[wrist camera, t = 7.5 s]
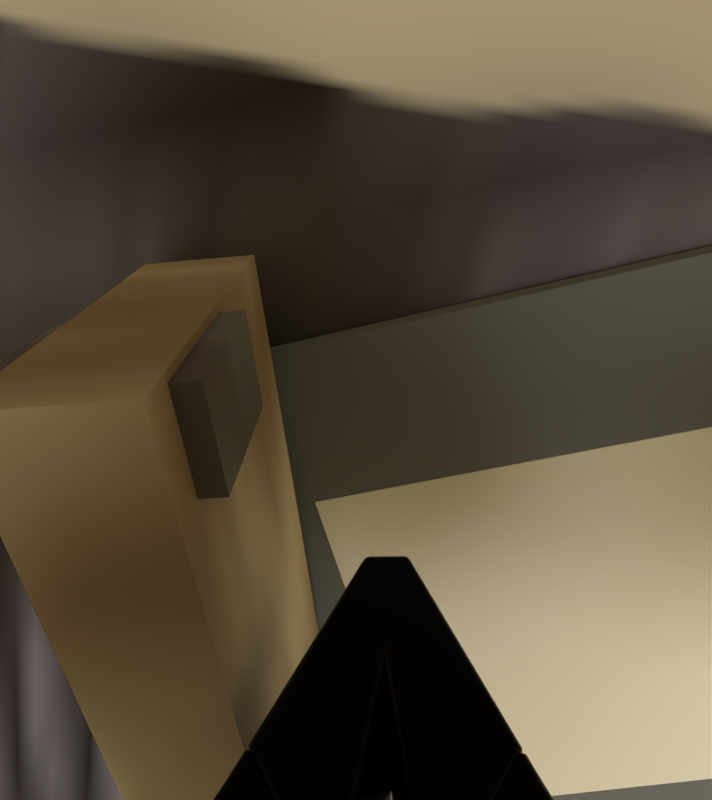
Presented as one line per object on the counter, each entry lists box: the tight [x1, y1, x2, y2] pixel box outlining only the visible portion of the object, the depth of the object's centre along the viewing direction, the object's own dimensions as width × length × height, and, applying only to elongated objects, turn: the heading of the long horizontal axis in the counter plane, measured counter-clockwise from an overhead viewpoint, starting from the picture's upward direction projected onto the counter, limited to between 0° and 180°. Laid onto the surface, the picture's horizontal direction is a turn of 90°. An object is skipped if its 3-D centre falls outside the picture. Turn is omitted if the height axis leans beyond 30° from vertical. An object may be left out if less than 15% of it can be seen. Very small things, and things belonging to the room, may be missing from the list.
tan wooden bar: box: [0, 255, 318, 800], centre depth 10 cm, size 15×2×4 cm, turn 5°
